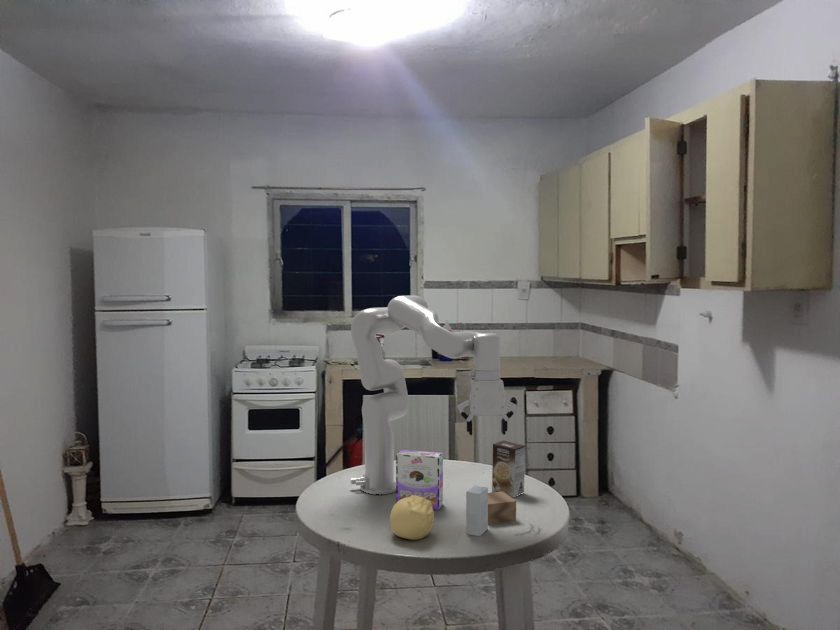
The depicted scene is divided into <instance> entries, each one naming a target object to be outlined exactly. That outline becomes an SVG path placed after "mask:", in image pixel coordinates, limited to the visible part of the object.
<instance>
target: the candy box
mask: <svg viewBox="0 0 840 630" xmlns="http://www.w3.org/2000/svg"><path fill="white" fill-rule="evenodd" d="M395 465H396V466H395V477H396V478H395V480H396V481H395V482H396V491H395V493H396V497H395V498H396V500H395V502H396V503H397V502H398V501H399V500H401V499H403V498H406V497H410V496H412V495H415V496H419V497H424V498H425V499H427V500H430V501H431V503H432V508H433V510H437V511H439V510H440V509H441V507H443V505H444V452H440V451H439V452H436V451H426V450H425V451H424V450H423V451H421V450H410V449H400V450H399V452H397V453H396V454H395ZM396 503H395V504H396Z"/></svg>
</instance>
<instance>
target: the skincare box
mask: <svg viewBox="0 0 840 630" xmlns="http://www.w3.org/2000/svg"><path fill="white" fill-rule="evenodd" d="M488 489H489V488H488V487H487V486H480V485H473V486H472V487H471V488H469V489H468V490H467V491H466V495H465V499H466V500H465V501H466V502H465V503H466V505H465V511H466V512H465V513H466V514H465V516H466V521H465V522H466V527H465V528H466V529H465V530H466V535H471V536H476V537H481V536H482V535H483V534H484V533H485V532H486V531H487V530H488V529H489V524H488V493H489V490H488Z"/></svg>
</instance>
